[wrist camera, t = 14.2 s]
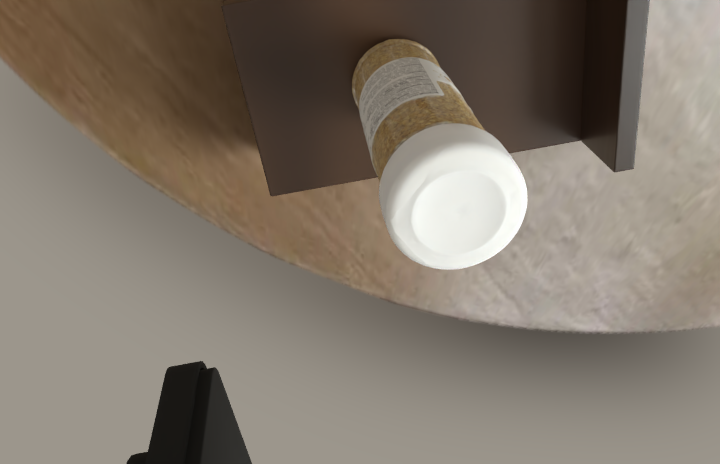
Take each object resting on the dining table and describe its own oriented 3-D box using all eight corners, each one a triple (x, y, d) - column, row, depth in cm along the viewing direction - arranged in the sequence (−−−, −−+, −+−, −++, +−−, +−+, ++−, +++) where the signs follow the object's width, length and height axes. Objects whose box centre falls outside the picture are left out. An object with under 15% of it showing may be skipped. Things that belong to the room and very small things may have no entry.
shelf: (273, 152, 38) (268, 235, 30) (231, -17, 33) (211, 25, 24) (557, 101, 38) (634, 169, 30) (561, -76, 33) (655, -55, 24)
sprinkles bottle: (450, 107, 31) (542, 249, 20) (366, 137, 32) (409, 293, 20) (427, 21, 29) (516, 124, 18) (336, 53, 29) (366, 176, 18)
